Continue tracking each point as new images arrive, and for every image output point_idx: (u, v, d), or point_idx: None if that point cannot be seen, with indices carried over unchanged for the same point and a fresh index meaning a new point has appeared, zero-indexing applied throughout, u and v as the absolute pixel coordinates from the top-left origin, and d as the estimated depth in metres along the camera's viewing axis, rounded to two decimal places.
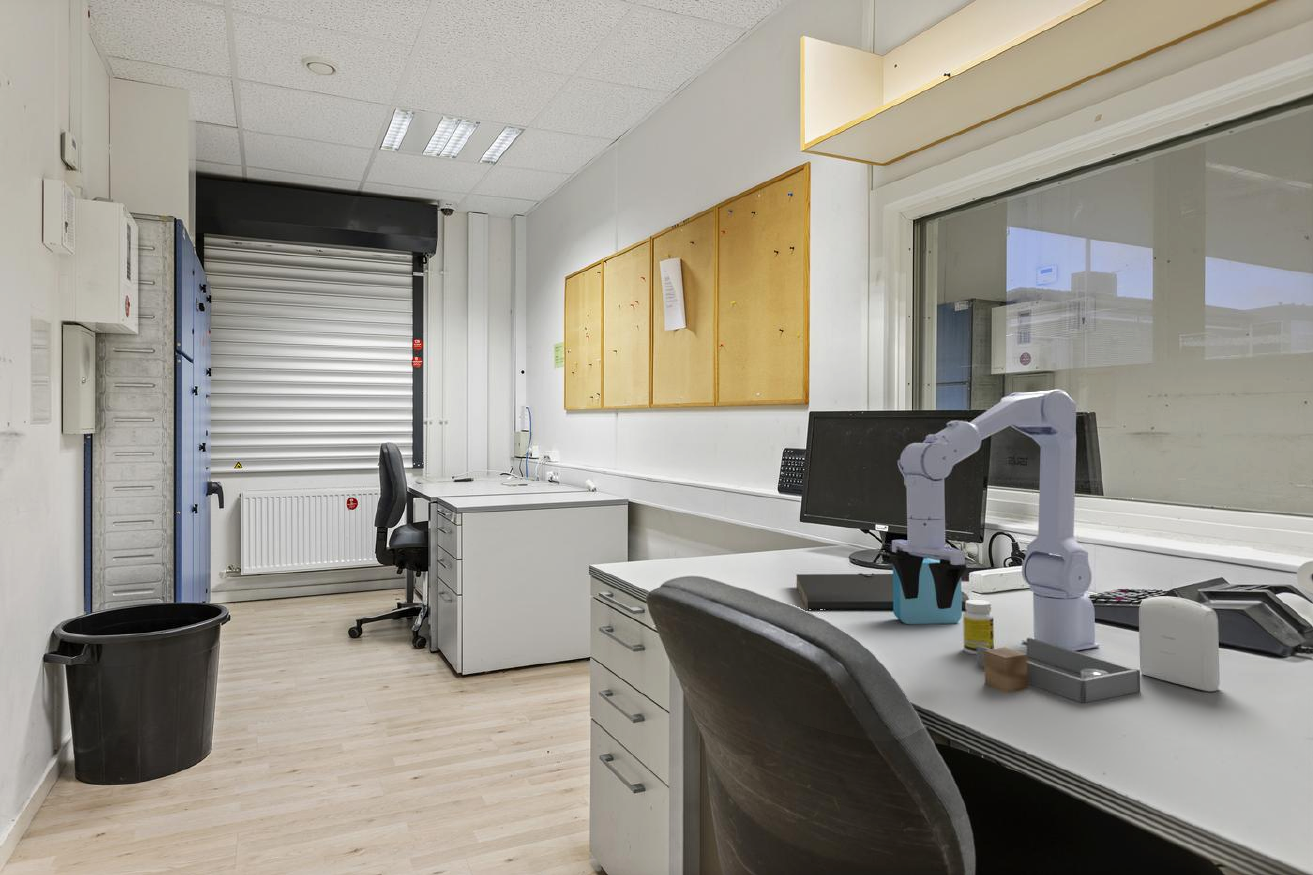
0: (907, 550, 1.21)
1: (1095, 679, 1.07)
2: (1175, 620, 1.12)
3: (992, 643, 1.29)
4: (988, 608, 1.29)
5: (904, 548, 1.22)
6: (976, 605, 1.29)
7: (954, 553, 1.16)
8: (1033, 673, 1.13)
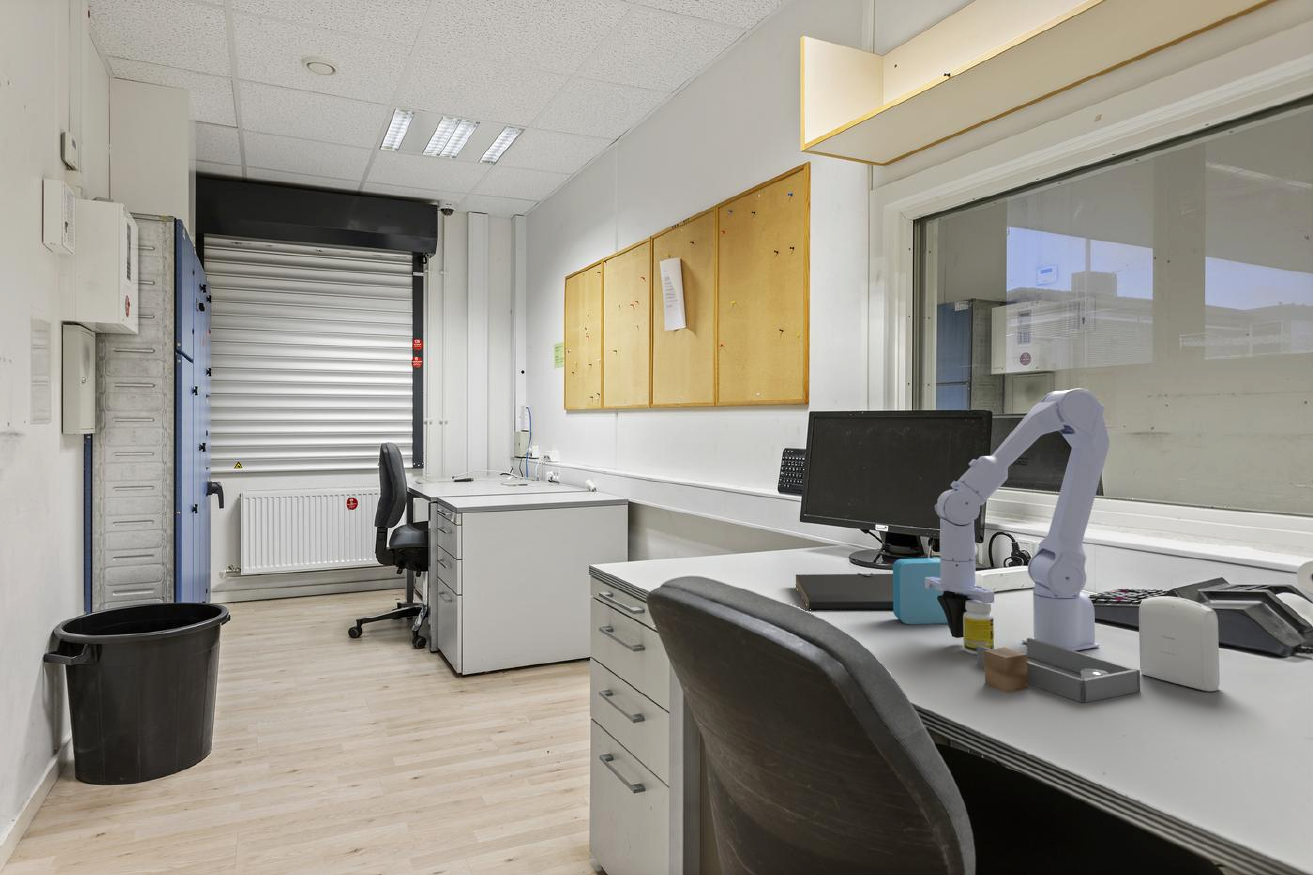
0: (941, 589, 1.33)
1: (1095, 679, 1.07)
2: (1175, 620, 1.12)
3: (992, 643, 1.29)
4: (988, 608, 1.29)
5: (938, 586, 1.34)
6: (976, 605, 1.29)
7: (985, 593, 1.28)
8: (1033, 673, 1.13)
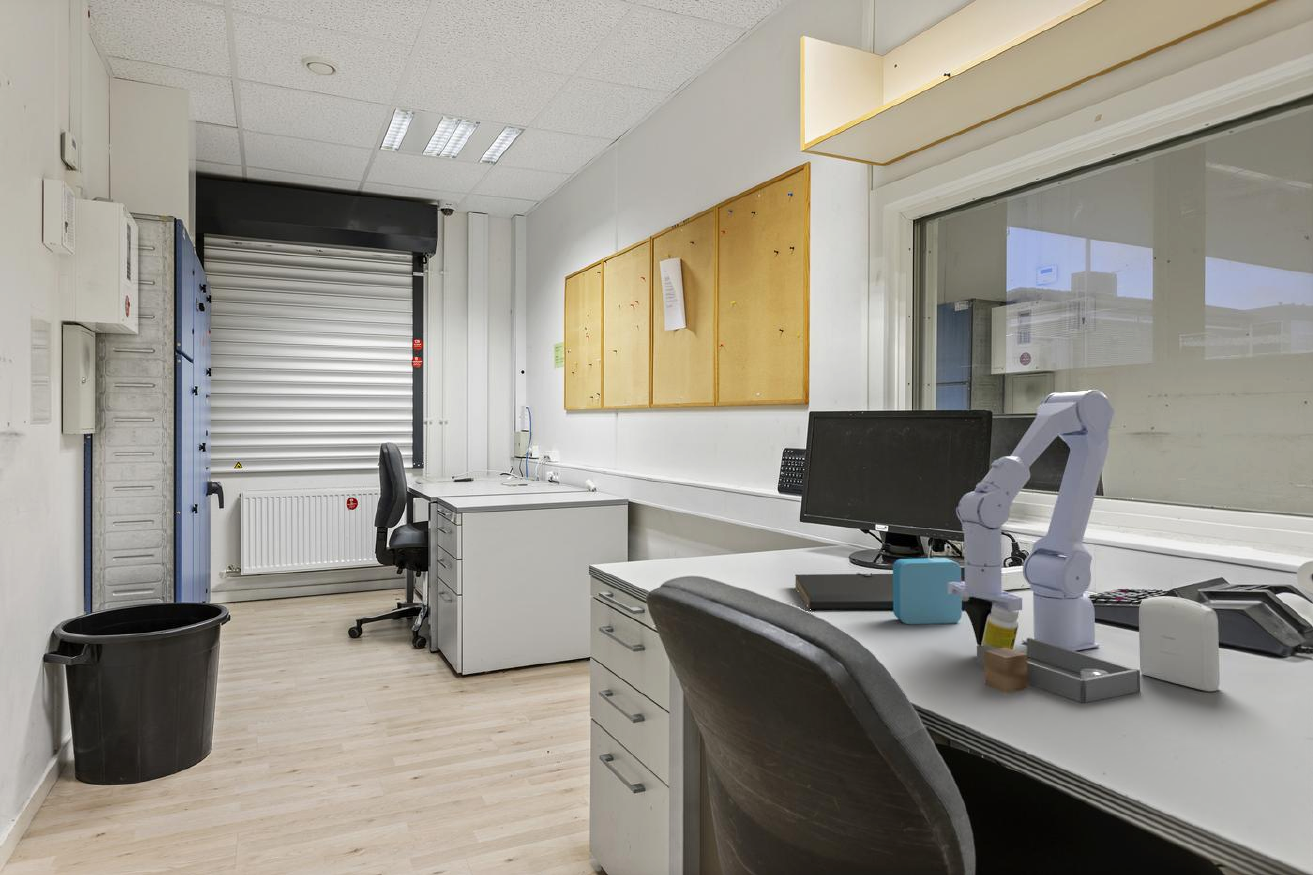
0: (965, 594, 1.28)
1: (1095, 679, 1.07)
2: (1175, 620, 1.12)
3: (1011, 649, 1.25)
4: (1015, 617, 1.23)
5: (962, 592, 1.28)
6: (1003, 613, 1.23)
7: (1012, 599, 1.22)
8: (1033, 673, 1.13)
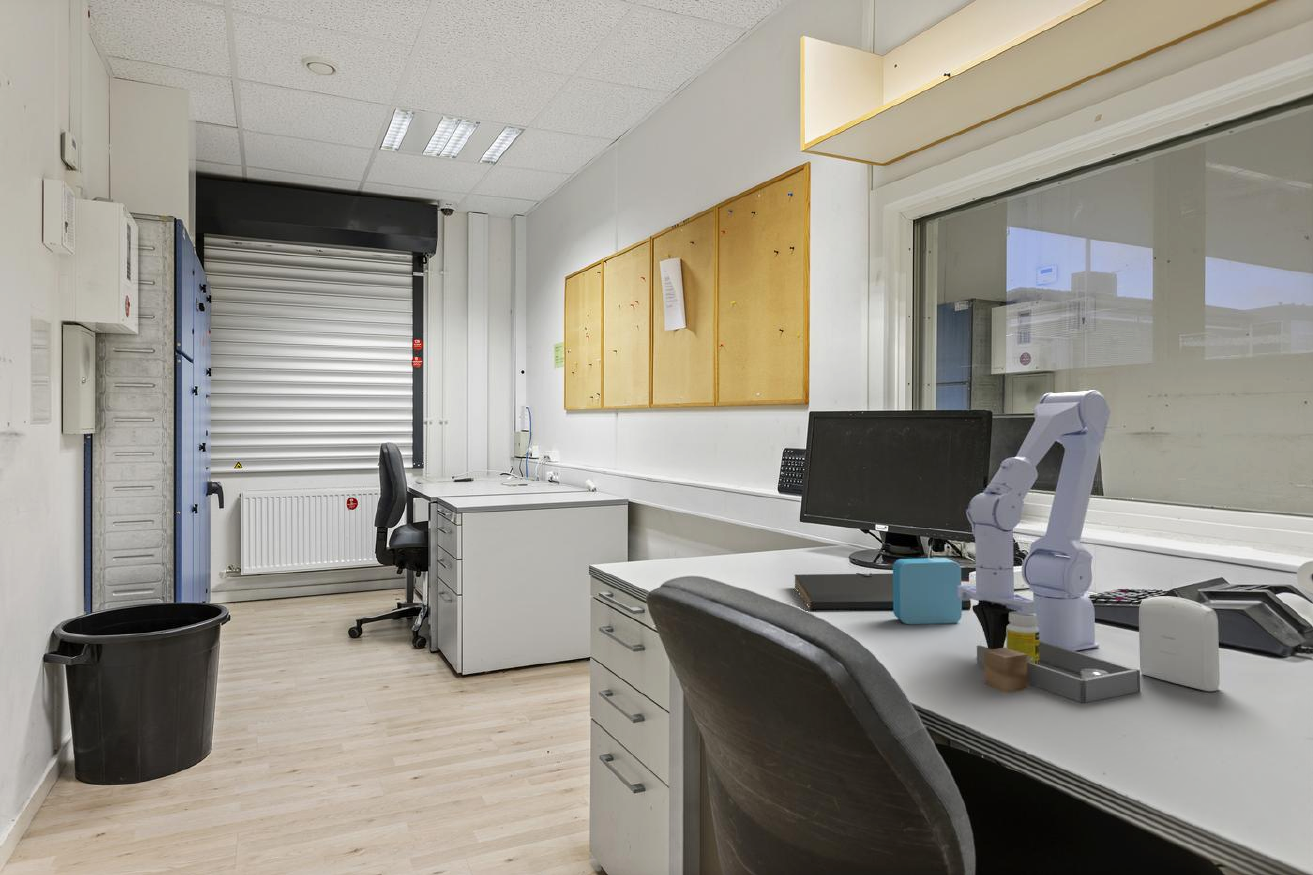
0: (977, 598, 1.25)
1: (1095, 679, 1.07)
2: (1175, 620, 1.12)
3: (1037, 658, 1.20)
4: (1033, 620, 1.20)
5: (974, 596, 1.26)
6: (1020, 617, 1.20)
7: (1026, 603, 1.20)
8: (1033, 673, 1.13)
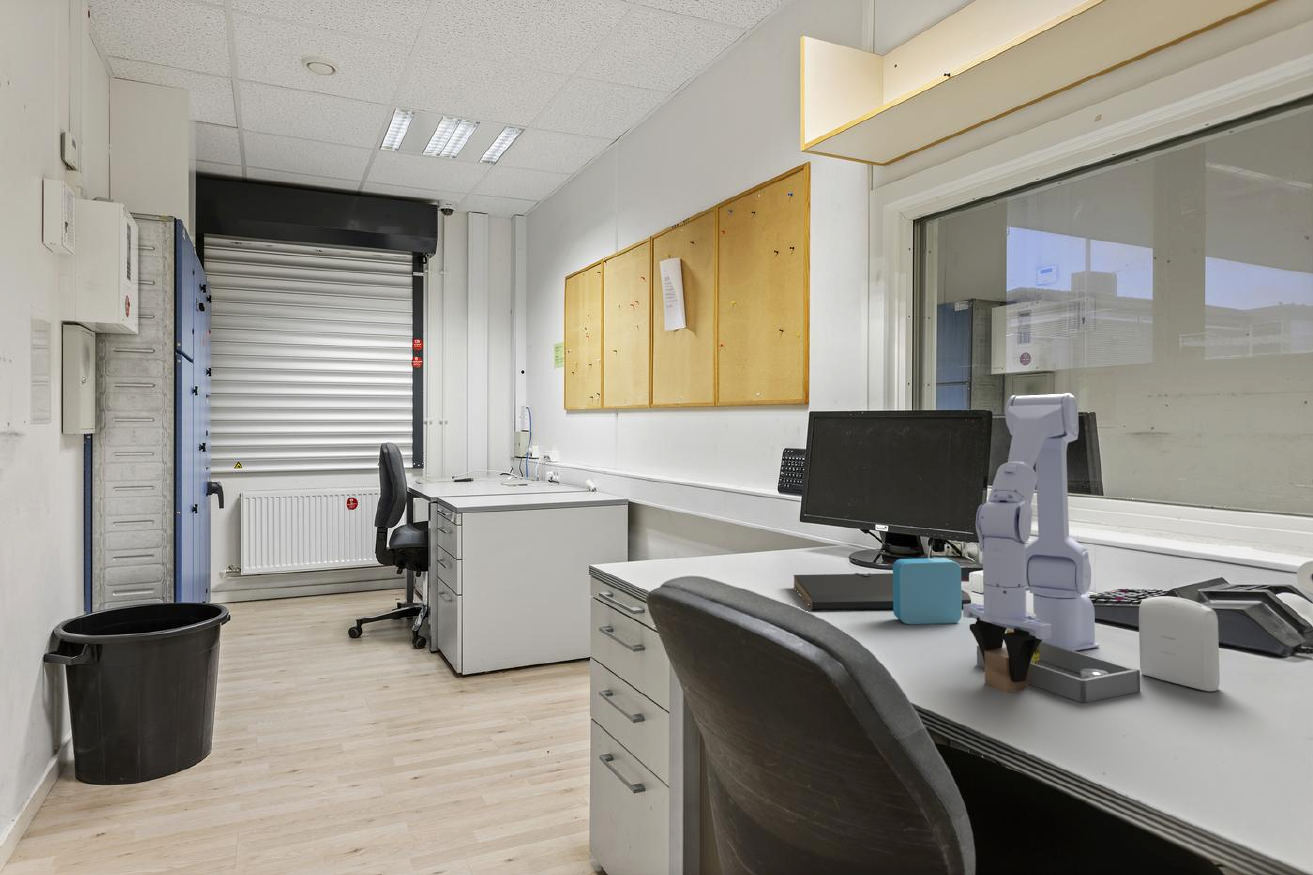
0: (985, 620, 1.11)
1: (1095, 679, 1.07)
2: (1175, 620, 1.12)
3: (1037, 659, 1.20)
4: None
5: (981, 617, 1.12)
6: None
7: (1040, 626, 1.06)
8: (1033, 673, 1.13)
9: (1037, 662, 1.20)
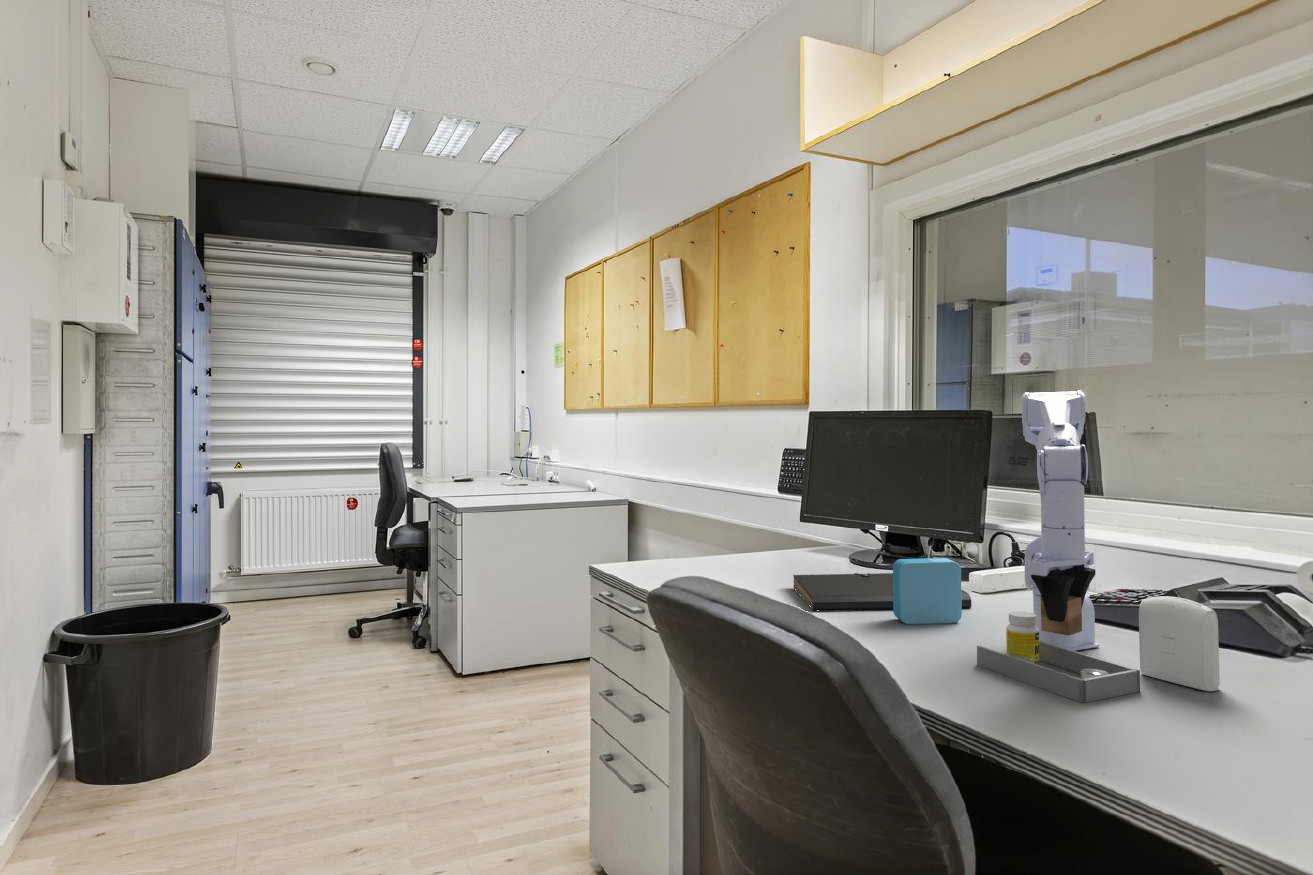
0: None
1: (1095, 679, 1.07)
2: (1175, 620, 1.12)
3: (1037, 659, 1.20)
4: (1033, 621, 1.20)
5: (1038, 554, 1.18)
6: (1019, 617, 1.20)
7: (1031, 562, 1.11)
8: (1033, 673, 1.13)
9: (1037, 662, 1.20)
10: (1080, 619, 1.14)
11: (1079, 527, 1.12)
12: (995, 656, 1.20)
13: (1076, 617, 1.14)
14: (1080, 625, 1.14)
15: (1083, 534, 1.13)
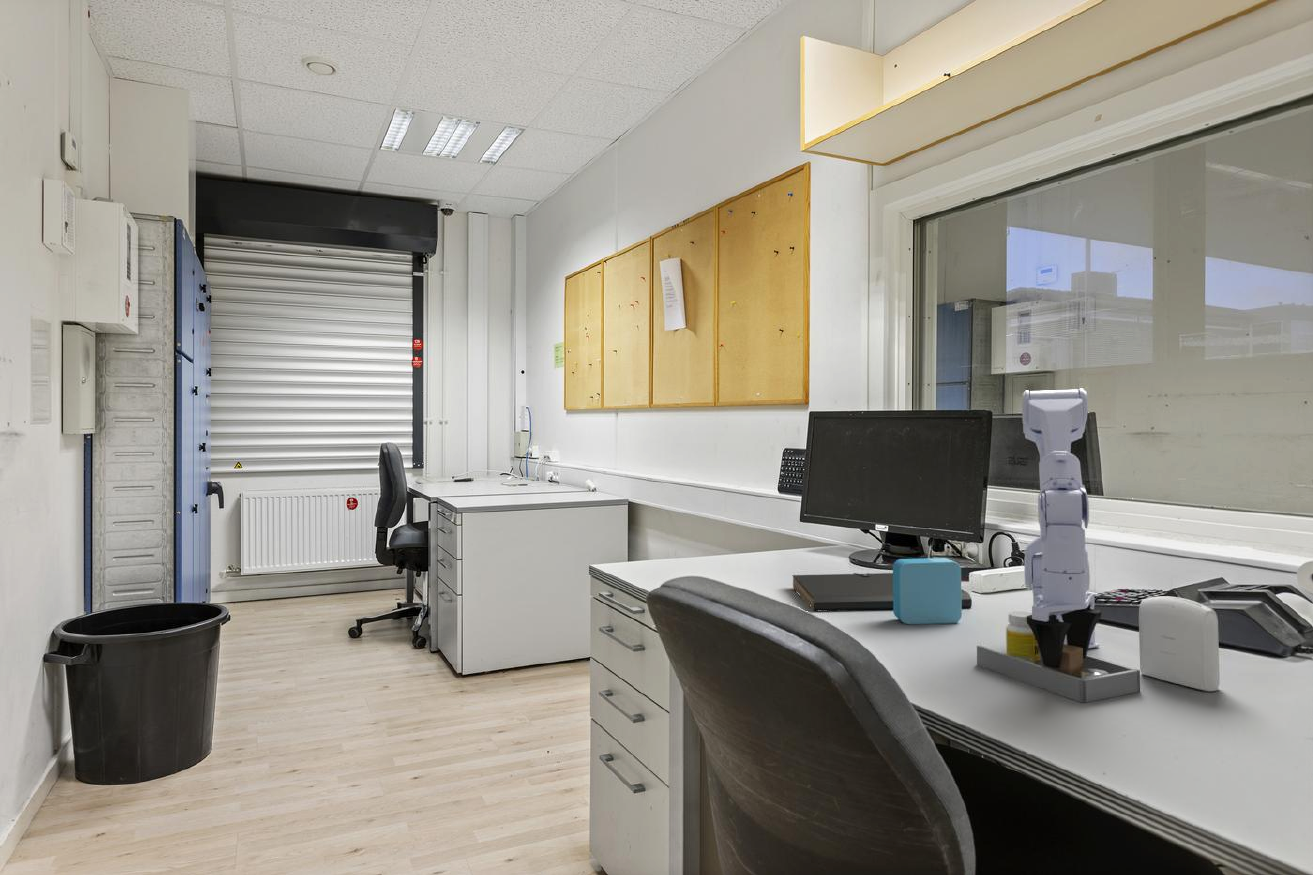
0: None
1: (1095, 679, 1.07)
2: (1175, 620, 1.12)
3: (1037, 659, 1.20)
4: None
5: None
6: (1019, 617, 1.20)
7: (1032, 607, 1.11)
8: (1033, 673, 1.13)
9: (1037, 662, 1.20)
10: None
11: (1080, 571, 1.12)
12: (995, 656, 1.20)
13: (1077, 668, 1.14)
14: None
15: (1084, 578, 1.13)
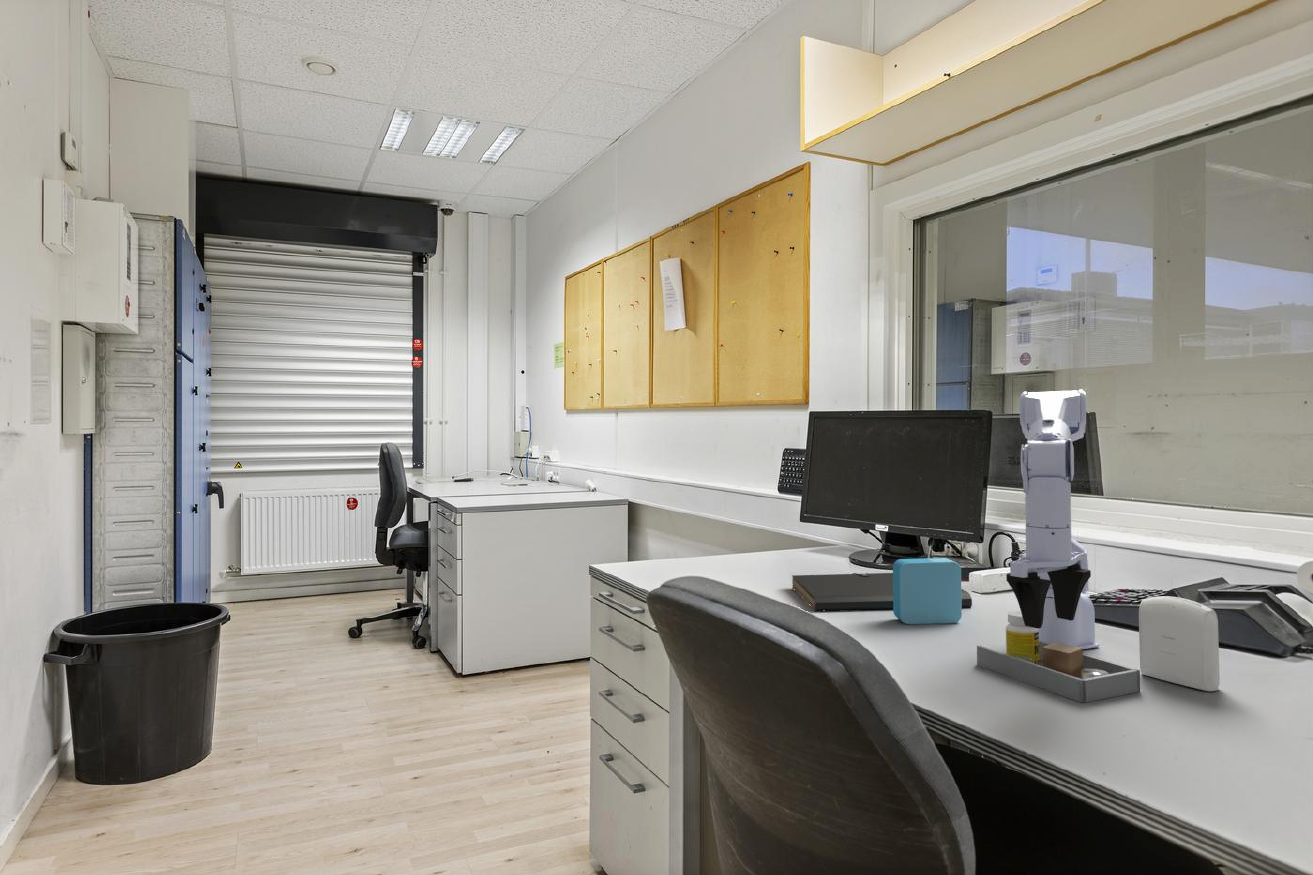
0: None
1: (1095, 679, 1.07)
2: (1175, 620, 1.12)
3: (1037, 658, 1.20)
4: None
5: None
6: (1018, 617, 1.20)
7: (1010, 563, 1.05)
8: (1033, 673, 1.13)
9: (1037, 662, 1.20)
10: None
11: (1064, 526, 1.05)
12: (995, 656, 1.20)
13: (1077, 668, 1.14)
14: None
15: (1069, 534, 1.06)
